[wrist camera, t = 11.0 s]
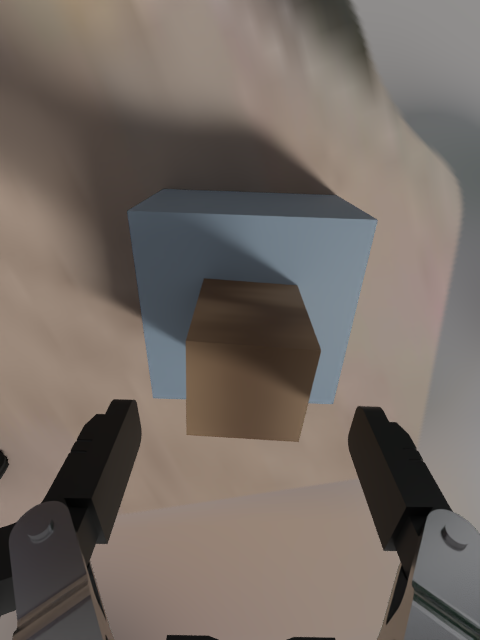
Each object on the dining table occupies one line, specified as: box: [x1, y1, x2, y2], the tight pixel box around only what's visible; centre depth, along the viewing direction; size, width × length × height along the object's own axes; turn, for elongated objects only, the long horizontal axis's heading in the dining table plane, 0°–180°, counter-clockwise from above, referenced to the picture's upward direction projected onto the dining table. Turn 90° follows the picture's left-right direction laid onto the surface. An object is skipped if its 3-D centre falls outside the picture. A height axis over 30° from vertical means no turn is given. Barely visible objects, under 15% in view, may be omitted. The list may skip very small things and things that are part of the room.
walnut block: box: [186, 278, 321, 442], centre depth 15 cm, size 5×5×6 cm
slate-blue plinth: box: [127, 189, 378, 404], centre depth 22 cm, size 12×12×8 cm
